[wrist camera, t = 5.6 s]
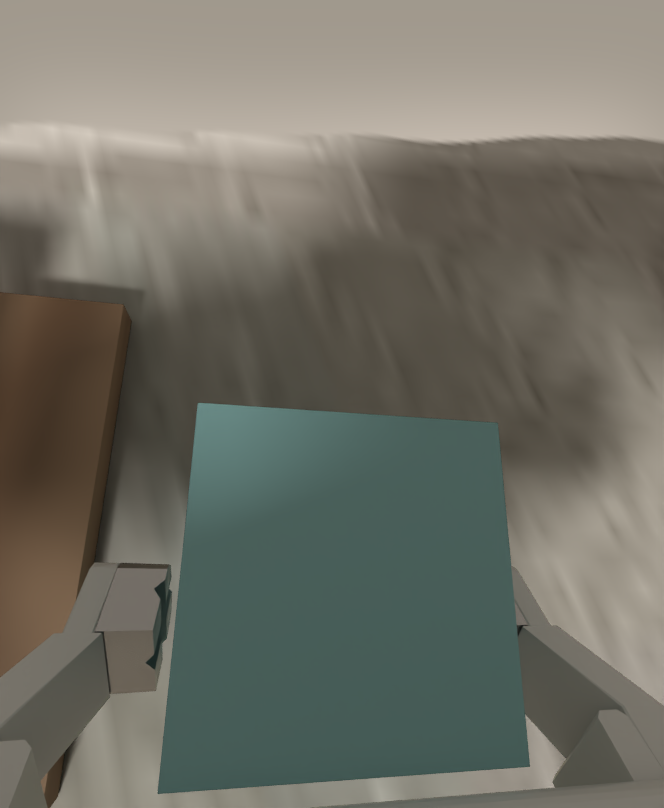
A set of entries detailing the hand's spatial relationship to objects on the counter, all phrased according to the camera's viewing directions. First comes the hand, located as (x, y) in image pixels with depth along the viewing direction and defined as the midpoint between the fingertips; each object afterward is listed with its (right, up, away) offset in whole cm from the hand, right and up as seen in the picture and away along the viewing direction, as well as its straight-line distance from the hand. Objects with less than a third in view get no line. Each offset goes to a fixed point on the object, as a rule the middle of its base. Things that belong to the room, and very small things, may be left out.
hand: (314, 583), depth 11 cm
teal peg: (-1, -1, +5) cm, 5 cm away
